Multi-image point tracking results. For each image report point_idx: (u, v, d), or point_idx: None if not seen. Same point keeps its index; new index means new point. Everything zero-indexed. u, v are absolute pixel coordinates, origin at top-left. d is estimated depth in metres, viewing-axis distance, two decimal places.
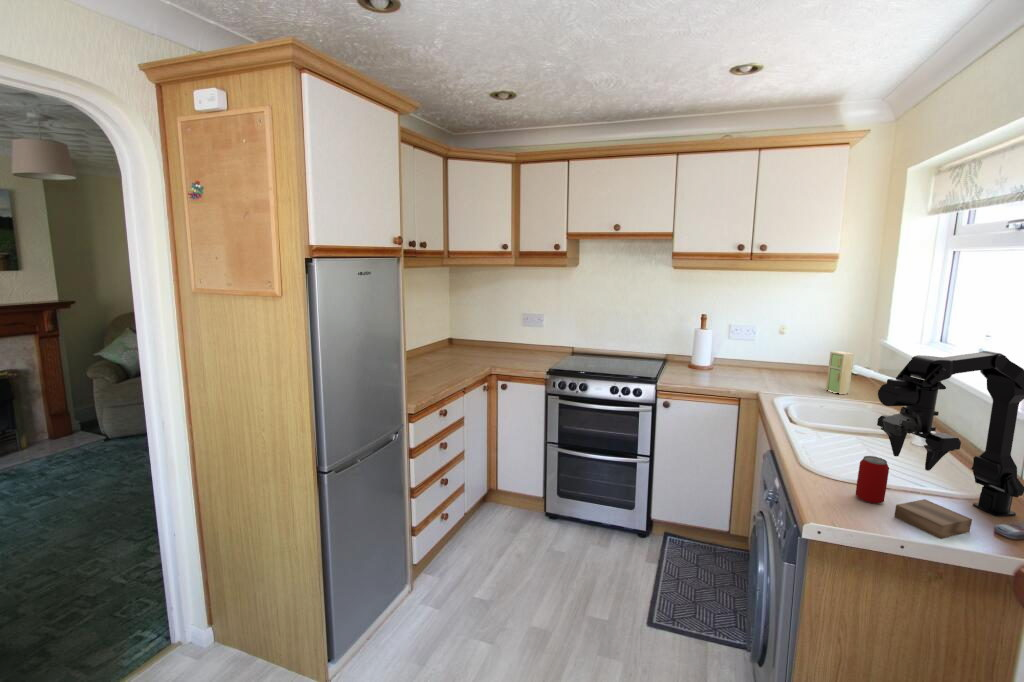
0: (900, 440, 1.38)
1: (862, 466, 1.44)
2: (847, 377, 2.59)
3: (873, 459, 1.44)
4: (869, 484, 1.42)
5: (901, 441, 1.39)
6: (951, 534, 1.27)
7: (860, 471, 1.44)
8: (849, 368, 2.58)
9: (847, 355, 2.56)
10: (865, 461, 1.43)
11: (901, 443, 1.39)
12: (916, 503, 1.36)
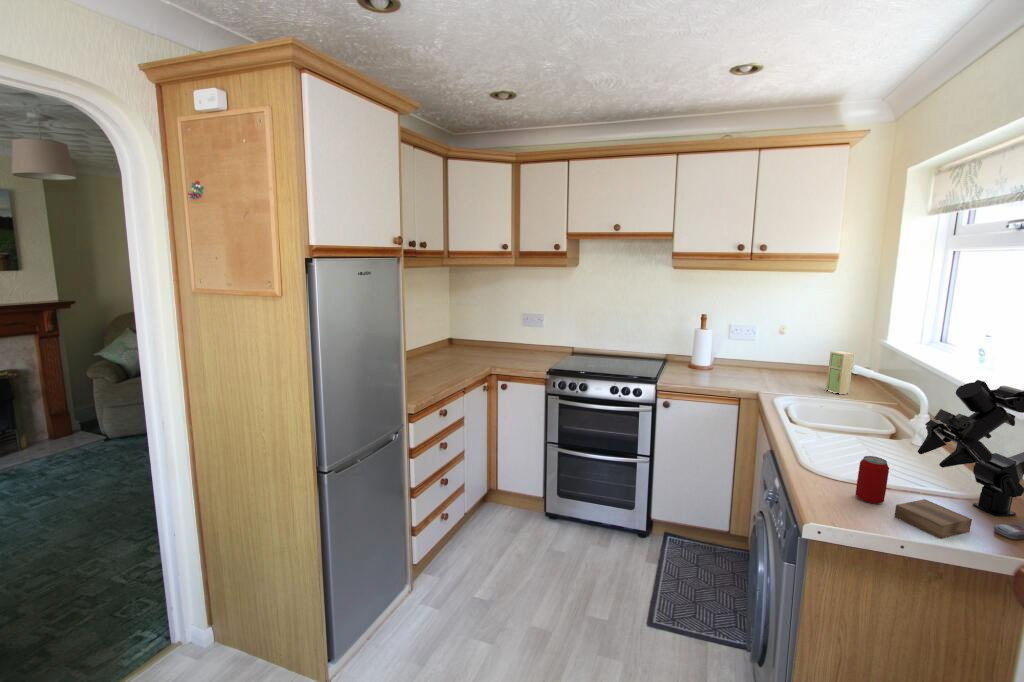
0: (934, 445, 1.44)
1: (862, 466, 1.44)
2: (847, 377, 2.59)
3: (873, 459, 1.44)
4: (869, 484, 1.42)
5: (934, 446, 1.44)
6: (951, 534, 1.27)
7: (860, 471, 1.44)
8: (849, 368, 2.58)
9: (847, 355, 2.56)
10: (865, 461, 1.43)
11: (932, 448, 1.44)
12: (916, 503, 1.36)
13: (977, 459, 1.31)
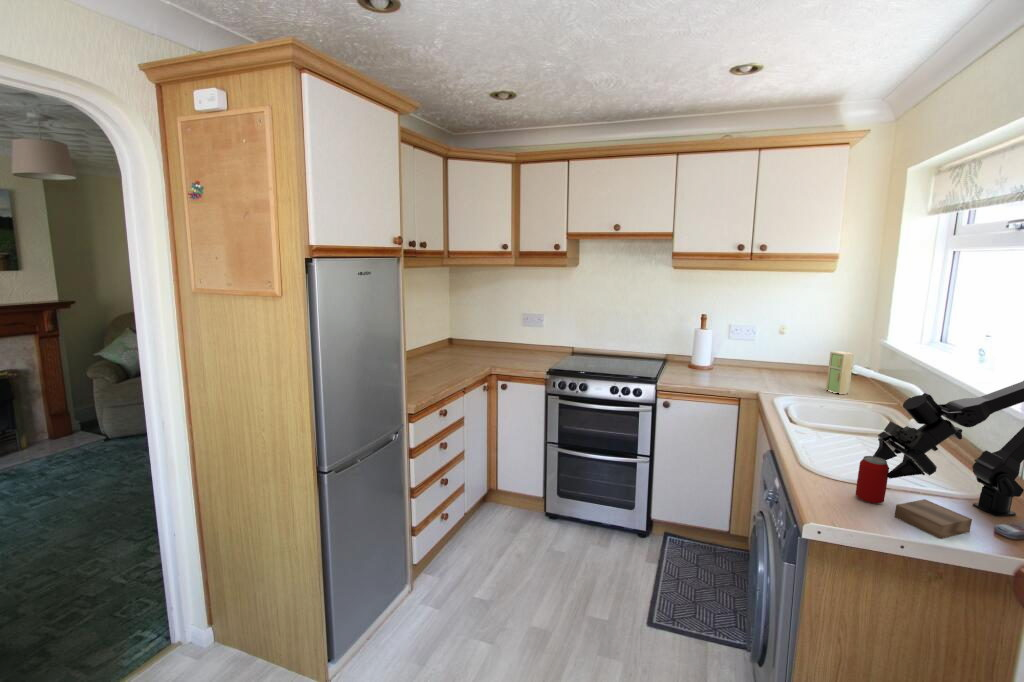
0: (884, 456, 1.47)
1: (862, 466, 1.44)
2: (847, 377, 2.59)
3: (873, 459, 1.44)
4: (869, 484, 1.42)
5: (884, 457, 1.47)
6: (951, 534, 1.27)
7: (860, 471, 1.44)
8: (849, 368, 2.58)
9: (847, 355, 2.56)
10: (865, 461, 1.43)
11: None
12: (916, 503, 1.36)
13: (922, 471, 1.34)
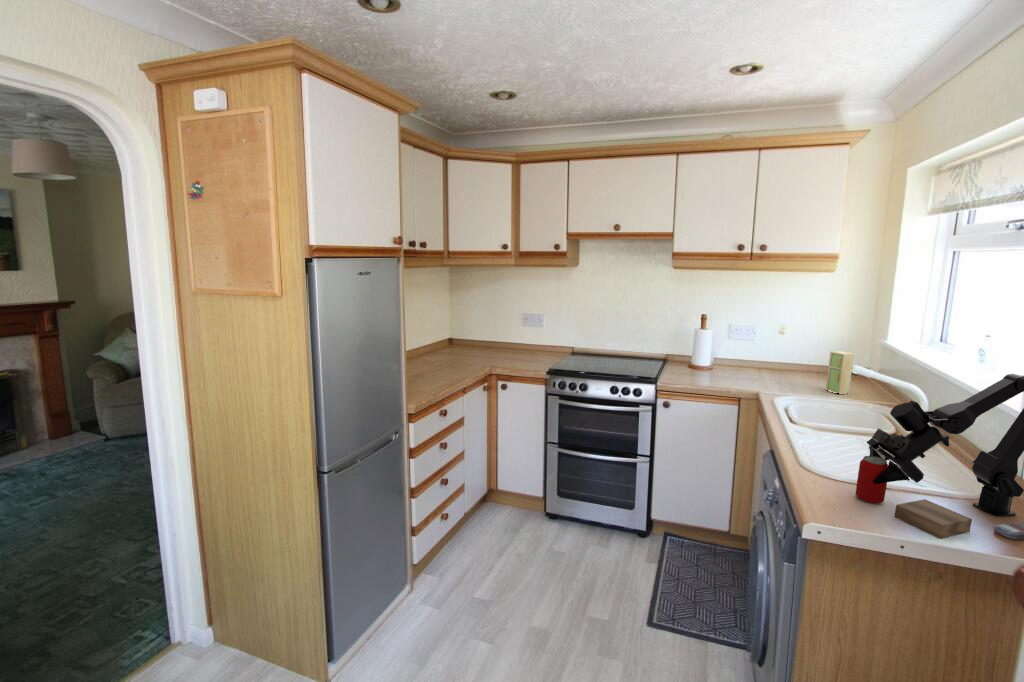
0: None
1: (862, 466, 1.44)
2: (847, 377, 2.59)
3: (873, 459, 1.44)
4: (869, 484, 1.42)
5: None
6: (951, 534, 1.27)
7: (860, 471, 1.44)
8: (849, 368, 2.58)
9: (847, 355, 2.56)
10: (865, 461, 1.43)
11: None
12: (916, 503, 1.36)
13: (907, 477, 1.36)
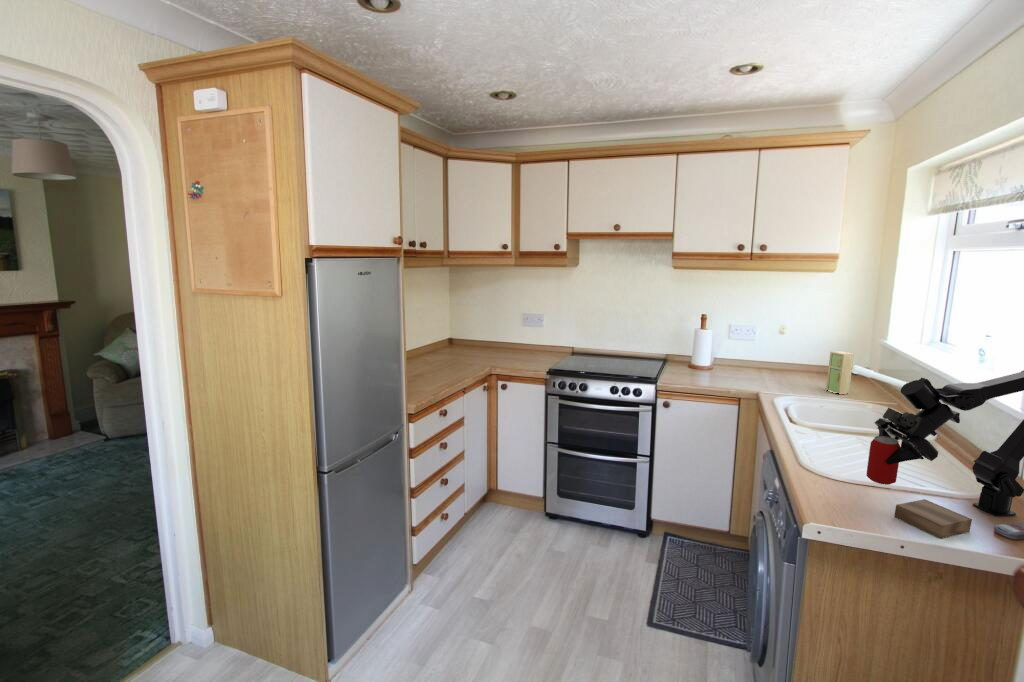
0: None
1: (873, 446, 1.40)
2: (847, 377, 2.59)
3: (884, 439, 1.41)
4: (881, 464, 1.39)
5: None
6: (951, 534, 1.27)
7: (871, 452, 1.41)
8: (849, 368, 2.58)
9: (847, 355, 2.56)
10: (876, 441, 1.40)
11: None
12: (916, 503, 1.36)
13: (921, 455, 1.33)
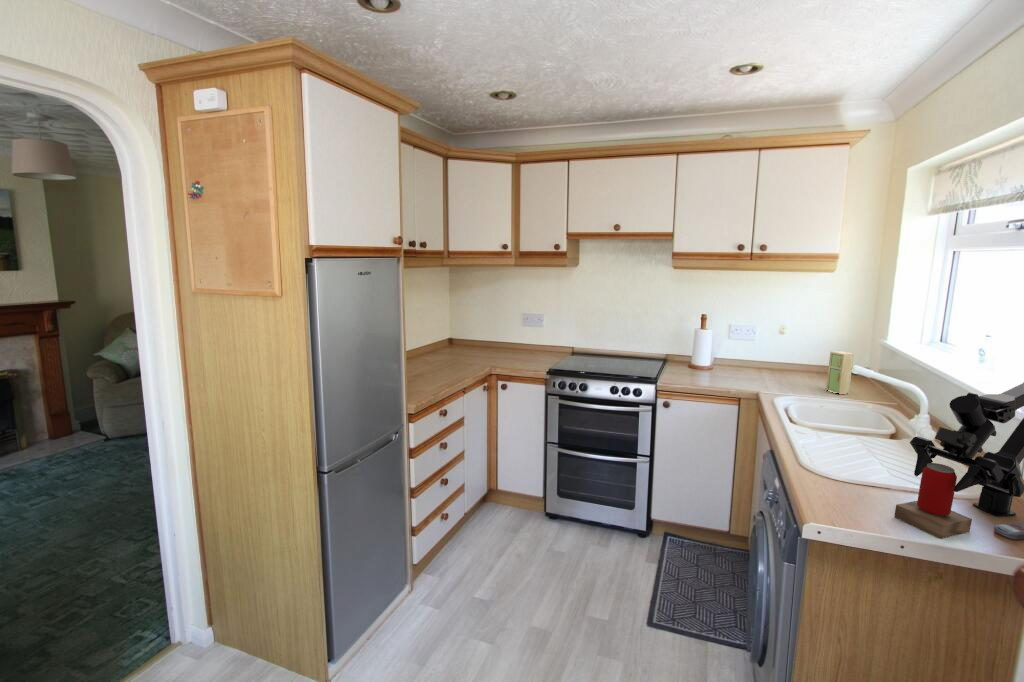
0: (925, 464, 1.35)
1: (932, 477, 1.29)
2: (847, 377, 2.59)
3: (938, 467, 1.30)
4: (943, 496, 1.28)
5: (925, 466, 1.35)
6: (951, 534, 1.27)
7: (930, 482, 1.29)
8: (849, 368, 2.58)
9: (847, 355, 2.56)
10: (935, 471, 1.29)
11: None
12: (916, 503, 1.36)
13: (990, 479, 1.24)
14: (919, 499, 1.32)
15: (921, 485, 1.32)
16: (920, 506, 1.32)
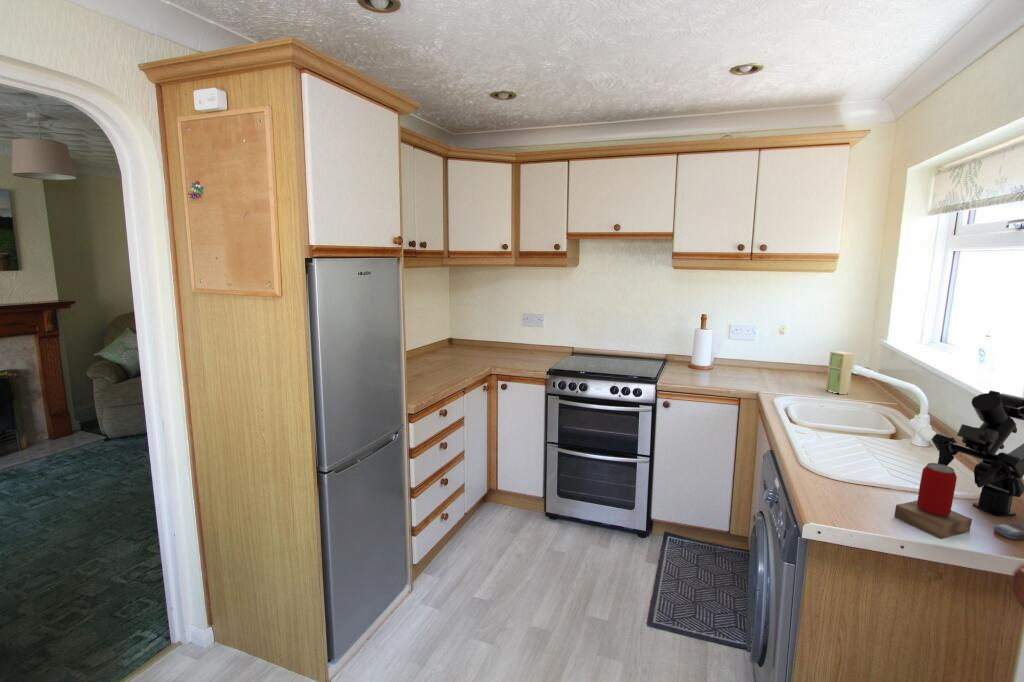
0: (947, 460, 1.38)
1: (932, 477, 1.29)
2: (847, 377, 2.59)
3: (937, 467, 1.30)
4: (943, 496, 1.28)
5: (947, 462, 1.38)
6: (951, 534, 1.27)
7: (929, 482, 1.29)
8: (849, 368, 2.58)
9: (847, 355, 2.56)
10: (935, 471, 1.29)
11: (946, 464, 1.38)
12: (916, 503, 1.36)
13: (1012, 475, 1.27)
14: (919, 499, 1.32)
15: (921, 485, 1.32)
16: (920, 506, 1.32)
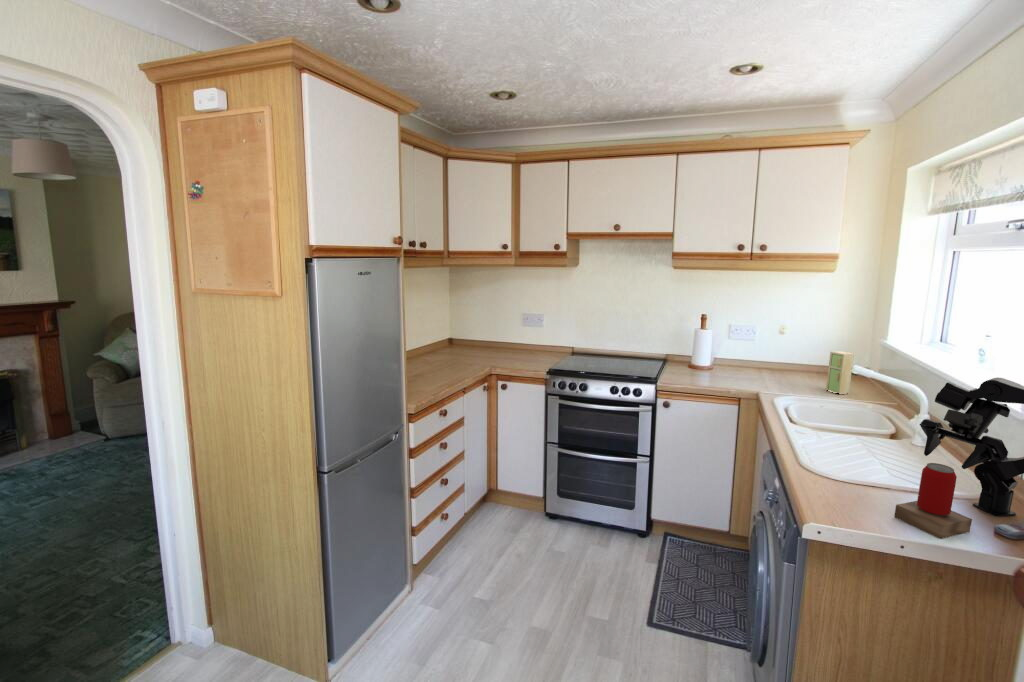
0: (934, 444, 1.44)
1: (932, 477, 1.29)
2: (847, 377, 2.59)
3: (937, 467, 1.30)
4: (943, 495, 1.28)
5: (934, 446, 1.44)
6: (951, 534, 1.27)
7: (929, 482, 1.29)
8: (849, 368, 2.58)
9: (847, 355, 2.56)
10: (935, 471, 1.29)
11: (933, 448, 1.44)
12: (916, 503, 1.36)
13: (995, 457, 1.33)
14: (919, 499, 1.32)
15: (921, 485, 1.32)
16: (920, 506, 1.32)
